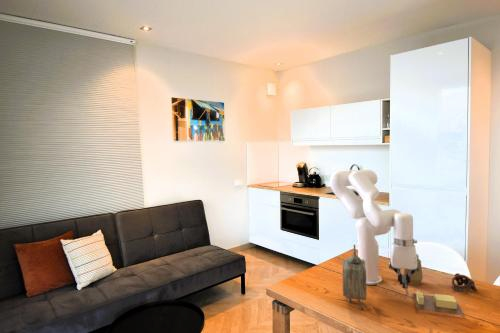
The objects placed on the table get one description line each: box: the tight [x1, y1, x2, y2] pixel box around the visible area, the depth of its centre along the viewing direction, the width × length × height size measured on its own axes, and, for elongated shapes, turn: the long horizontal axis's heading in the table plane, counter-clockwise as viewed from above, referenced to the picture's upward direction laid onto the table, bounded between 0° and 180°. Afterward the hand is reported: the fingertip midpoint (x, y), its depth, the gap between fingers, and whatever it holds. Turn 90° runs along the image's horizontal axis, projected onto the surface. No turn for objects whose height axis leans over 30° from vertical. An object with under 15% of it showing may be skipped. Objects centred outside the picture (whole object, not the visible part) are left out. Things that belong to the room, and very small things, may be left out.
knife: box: [401, 273, 410, 299], centre depth 129 cm, size 2×18×3 cm, turn 160°
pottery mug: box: [451, 272, 478, 293], centre depth 139 cm, size 12×10×8 cm
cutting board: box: [411, 292, 465, 317], centre depth 126 cm, size 16×14×1 cm
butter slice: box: [416, 291, 424, 305], centre depth 128 cm, size 2×5×3 cm, turn 160°
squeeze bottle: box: [403, 253, 424, 285], centre depth 147 cm, size 8×8×18 cm
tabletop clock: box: [342, 244, 367, 310], centre depth 131 cm, size 14×9×25 cm, turn 163°
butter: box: [433, 293, 458, 309], centre depth 125 cm, size 7×5×3 cm
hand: (403, 283), depth 133 cm, fingers closed on knife, 2 cm apart
